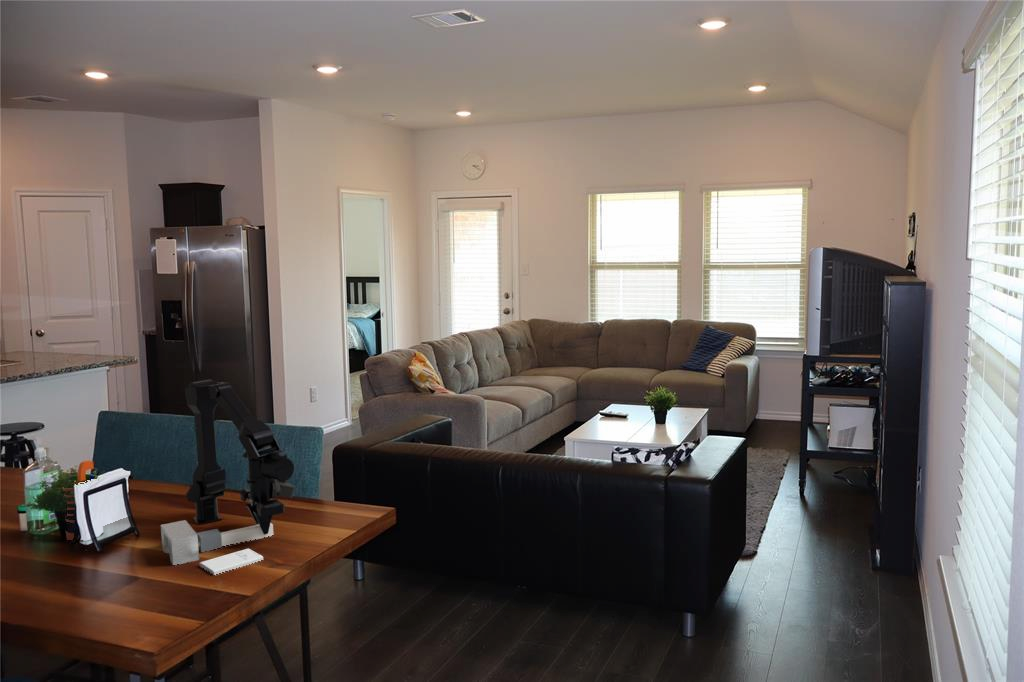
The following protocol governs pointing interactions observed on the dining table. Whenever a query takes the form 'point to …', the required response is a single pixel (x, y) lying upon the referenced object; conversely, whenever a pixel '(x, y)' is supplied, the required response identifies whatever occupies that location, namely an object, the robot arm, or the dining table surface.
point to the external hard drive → (231, 561)
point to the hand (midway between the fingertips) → (264, 532)
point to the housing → (180, 542)
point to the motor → (79, 478)
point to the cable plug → (229, 537)
